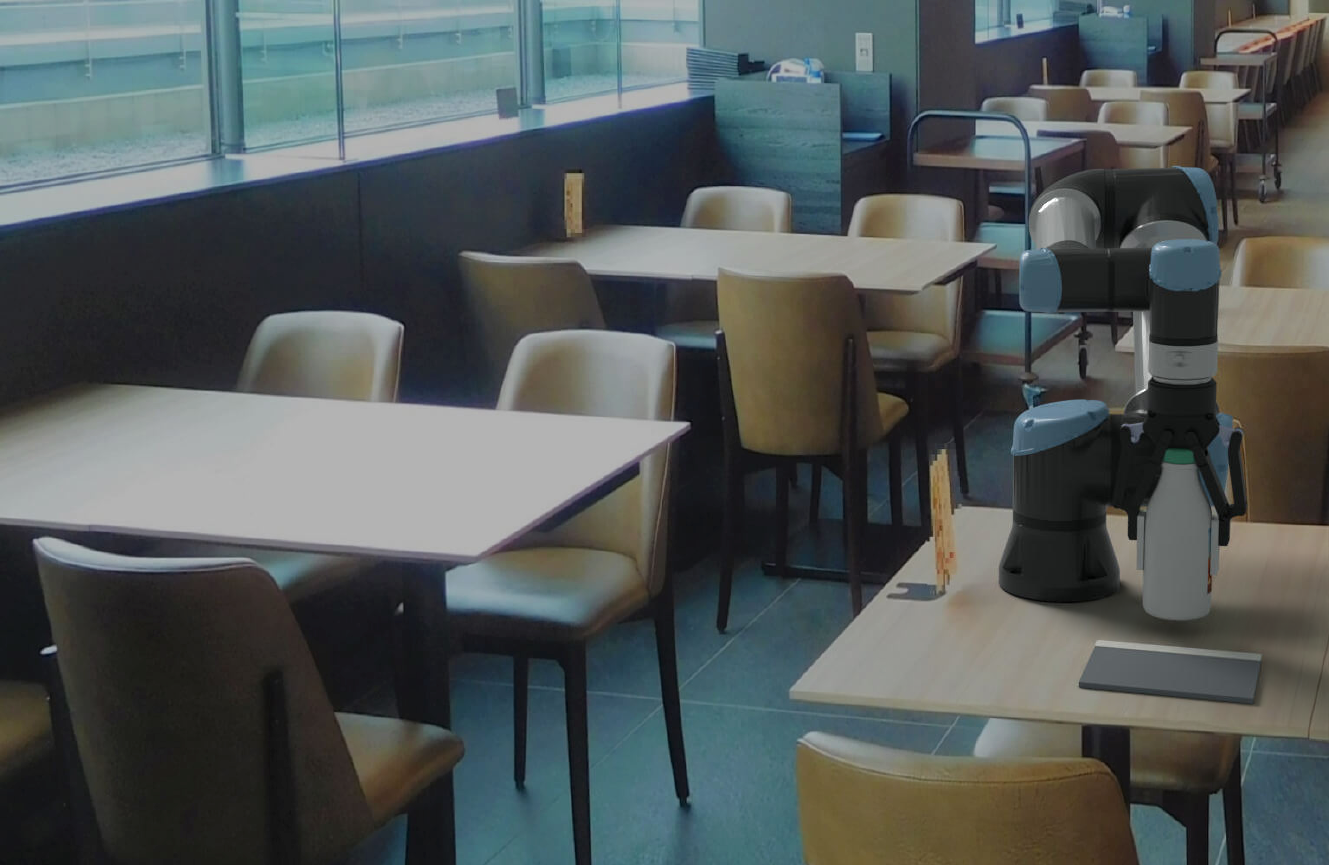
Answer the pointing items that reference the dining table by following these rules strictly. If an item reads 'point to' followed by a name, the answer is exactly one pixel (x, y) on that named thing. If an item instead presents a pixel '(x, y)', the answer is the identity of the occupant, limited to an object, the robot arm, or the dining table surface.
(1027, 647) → the dining table surface
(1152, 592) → the milk bottle
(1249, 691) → the mat
